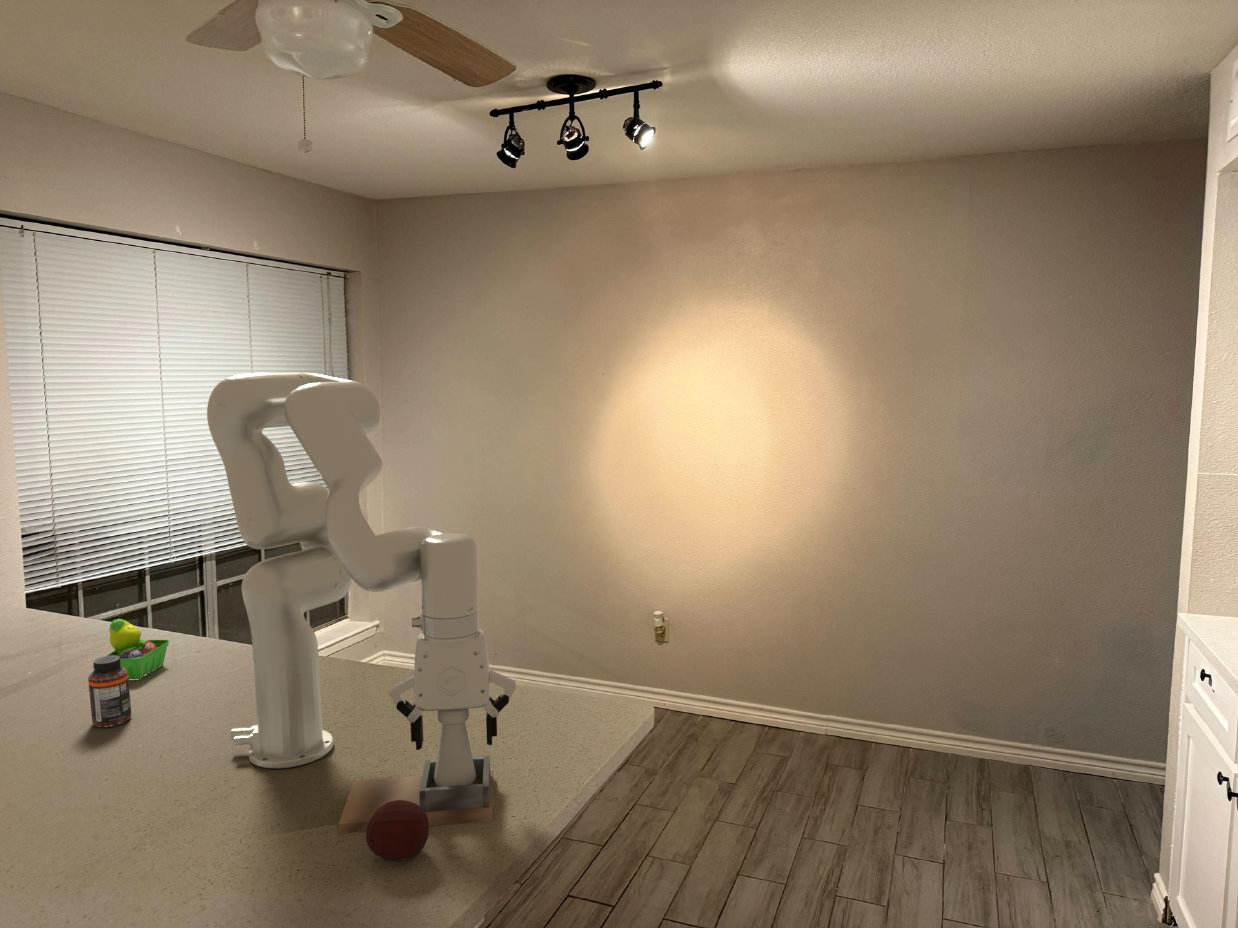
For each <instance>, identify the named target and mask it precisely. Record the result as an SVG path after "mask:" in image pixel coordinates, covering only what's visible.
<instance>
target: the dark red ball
mask: <svg viewBox="0 0 1238 928" xmlns="http://www.w3.org/2000/svg"><path fill="white" fill-rule="evenodd" d="M429 834H430V826H429V821H428V818H427V815H426V813H425V811H424V810H423V809H422V808H421V807H420V806H419V805H417V804H415V803H413V802H410V801H406V800H396V801H391V802H388V803H386V804H384V805H383V806H381V807H380V808H378V809H377V811H376V812H375V813H374V814H373V816H372V817H371V818H370V820H369V822H368V825H367V828H366V831H365V842H366V845H367V847H368V848H369V849H370V851H371V852H372V853H373V854H374V855H375V856H377V857H378V858H381V859H383V860H385V861H393V862H397V861H398V862H399V861H404V860H405V861H406V860H408V859H411V858H413V857H415V856H417V855H418V854H419V853H421V852H422V851H423V849H424V848H425V847H426V844H427V842H428V839H429Z"/></svg>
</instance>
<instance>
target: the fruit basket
mask: <svg viewBox="0 0 1238 928" xmlns="http://www.w3.org/2000/svg"><path fill="white" fill-rule="evenodd" d="M108 631H109V643H110V646H111V647H112V649H114V651H112V652H110V653H109V654H107V655H106V656H119V657H120V662H121V664H120V665H121V666H122V667H124V668H125V669H126V670H127V672H128V679H140V678H142V677H143V676H144V675H145V674H148V673H149V672H151V671H152V670H154V669H156V668H157V667H159V666H160V665H162V666H163V665H164V662H165V658H166V653H167V649H168V646H169V643H170V639H141V635H142V631H141V630H140V629H139V628H138V627H136V626H135V625H133V624H131V623H130V622H129V621H127V620H124V619H121V618H117V619H113V620H112V621H111V622H110V625H109V629H108ZM159 668H160V667H159ZM157 669H158V668H157ZM157 669H156V670H157ZM151 673H152V672H151Z"/></svg>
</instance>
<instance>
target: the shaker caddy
mask: <svg viewBox="0 0 1238 928" xmlns="http://www.w3.org/2000/svg"><path fill="white" fill-rule="evenodd" d="M490 757H491V756H490V755H483V756H482V755H481V756H472V758H473V763H474V767H475V772H476V780H475V782H474V784H473V785H460V786H446V787H437V786H436V785H435V780H434V774H435V767H436V761H437V758H436V759H427V760H424V766H423V771H422V775H415V776H414V775H413V776H400V777H399V776H398V777H387V778H386V777H385V778H384V777H383V778H371V779H360V780H358V779H357V780H356V779H355V780H353V781H352V784H351V787H350V791H349V793H348V795H347V799H346V801H345V804H344V807H343V810H342V813H341V816H340V818H339V820H338V823H337V826H338V827H337V828H338V834H340V833H341V834H342V833H352V832H366V828H367V825H368V822H369V820H370V818H371V817H372V816H373V814H374V813H375V812H376V811H377V809H378V808H380V807H381V806H383V805H384V804H386V803H388V802H391V801H396V800H406V801H410V802H413V803H415V804H417V805H419V806H420V807H421V808H422V809H423V810H424V811H425V813H426V815H427V818H428V821H429V827H430V826H440V825H442V826H443V825H455V824H456V825H457V824H465V823H467V824H469V823H481V822H491V821H493V811H494V810H493V808H494V807H493V804H494V803H493V802H494V770H491V758H490Z"/></svg>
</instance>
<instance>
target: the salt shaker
mask: <svg viewBox="0 0 1238 928" xmlns="http://www.w3.org/2000/svg"><path fill="white" fill-rule="evenodd" d="M469 710H470V709H456V710H440V711H436V713H437V720H438V723H440V724H441V727H440V733H439V734H440V735H439V742H438V749H437V755H436V759H437V761H436V767H435V774H434V780H435V785H436V786H437V787H446V786H460V785H473V784H474V782H475V780H476V772H475V767H474V763H473V758H472V757H473V754H472V749H471V748H472V747H471V745H470V744H471V743H470V739H469V735H468V730H467V725H466V722H467V721H468V719H469V716H470V711H469Z"/></svg>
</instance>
